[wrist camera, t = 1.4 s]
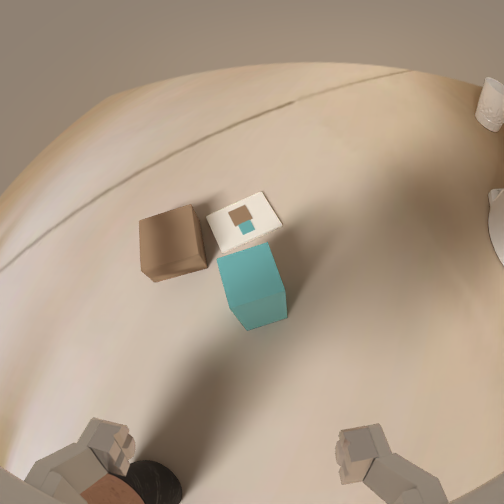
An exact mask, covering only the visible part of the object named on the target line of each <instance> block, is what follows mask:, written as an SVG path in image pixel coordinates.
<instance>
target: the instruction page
mask: <svg viewBox="0 0 504 504" xmlns="http://www.w3.org/2000/svg"><path fill="white" fill-rule="evenodd" d="M206 218H207V221H208V223H209V225H210V227H211V230H212V232H213V234H214V236H215V239H216V241H217V243H218V245H219V248H220V250H221V252H222V254H224V253H226V252H228V251H230V250H233V249H235V248H237V247H239V246H241V245H243V244H245V243H248V242H250V241H252V240H254V239H256V238H258V237H261V236H263V235H265V234H267V233H269V232H271V231H273V230H276V229H278V228H280V227H282V224H281V222H280V220H279V219H278V217H277V215H276V214H275V212H274V211H273V209H272V207H271V206H270V204H269V203H268V201H267V200H266V198H265V196H264V195H263V193H262V192H259V193H256V194H254V195H252V196H249V197H247V198H245V199H243V200H240V201H238V202H236V203H234V204H231V205H229V206H227V207H225V208H223V209H220V210H218V211H216V212H214V213H212V214H210V215H207V216H206Z"/></svg>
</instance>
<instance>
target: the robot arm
mask: <svg viewBox="0 0 504 504" xmlns="http://www.w3.org/2000/svg"><path fill="white" fill-rule="evenodd" d="M488 198H489V203H490V212H489V218H488V226H489V233H490V237H491V241H492V244H493V246H494V249H495V251H496V253H497V255H498V257H499V259H500V261H501V262H502V264H503V266H504V188H503V189H492V190H491V191H490V192H489V193H488ZM128 433H129V429H128V427H127V425H122V424H118V423H114V422H110V421H106V420H102V419H98V418H92V419H91V420H90V422H89V423H88V425H87V427H86V428H85V430H84V432H83V433H82V435H81V437H80V439H79V440H78V442H77V443H72V444H70V445H68V446H66V447H64V448H63V449H61V450H59V451H57V452H55V453H53V454H51V455H49V456H47V457H45V458H42V459H40V460H38V461H36V462H35V464H34V465H33V467H32V469H31V470H30V472H29V474H28V475H27V477H26V479H25V480H24V481H23V480H21V479H19V478H18V477H16V476H15V475H13V474H12V473H10V472H8V471H7V470H5V469H4V468H3V467H1V466H0V504H88V503H87V501H86V500H85V499H84V498H83V497H82V496H81V495H80V494H81V493H82V492H83V491H85V490H86V489H87V488H89V487H90V486H91V485H93V484H94V483H95V482H97V481H98V480H99V479H101V478H102V477H103V476H105V475H106V474H107V473H108V472H110V473H114V474H118V475H122V476H126V474H127V471H128V469H129V466H130V463H129V461H128V460H129V459H131V458H132V457H133V456H134V453H135V446H136V445H135V441H134V439H133V437H132V436H131V435H129V434H128ZM335 455H336V461H337V464H339V465H340V466H341V467H340V470H339V475H340V479H341V484H342V485H344V484H350V483H356V482H361V481H363V483H364V484H365V485H367V486H368V487H369V488H370V489H371V490H372V491H373V492H374V493H376V494H377V495H378V496H379V497H380V498H381V499H383V500H384V501H385V502H386V503H387V504H504V472H502V473H500V474H499V475H497V476H496V477H494V478H493V479H491V480H489V481H488V482H486V483H484V484H483V485H481V486H479V487H477V488H476V489H474V490H472V491H470V492H468V493H467V494H465V495H463V496H461V497H459V498H457V499H455V500H453V501H451V502H448V500H447V497H446V495H445V493H444V490H443V488H442V486H441V484H440V481H439V479H438V478H437V477H435V476H433V475H431V474H430V473H428V472H426V471H424V470H423V469H421V468H419V467H418V466H416V465H414V464H413V463H411V462H409V461H408V460H406V459H405V458H403V457H401V456H400V455H398V454H397V453H394V454H392V451H391V449H390V447H389V444H388V442H387V439H386V437H385V434H384V432H383V430H382V427H381V425H380V424H373V425H368V426H361V427H356V428H350V429H344V430H341V431H340V432H339V441H338V442H337V443H336V447H335Z"/></svg>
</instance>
